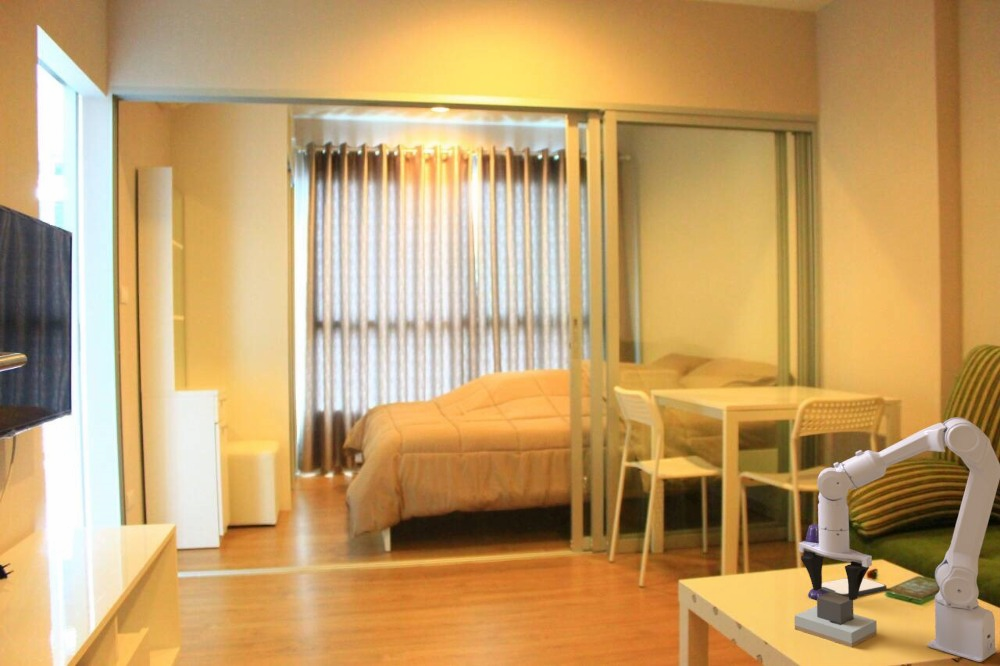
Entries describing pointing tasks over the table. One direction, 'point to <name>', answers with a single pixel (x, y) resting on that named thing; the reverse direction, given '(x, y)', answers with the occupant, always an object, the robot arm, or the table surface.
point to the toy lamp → (814, 538)
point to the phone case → (842, 587)
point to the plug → (835, 608)
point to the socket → (836, 628)
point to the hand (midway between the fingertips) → (835, 594)
